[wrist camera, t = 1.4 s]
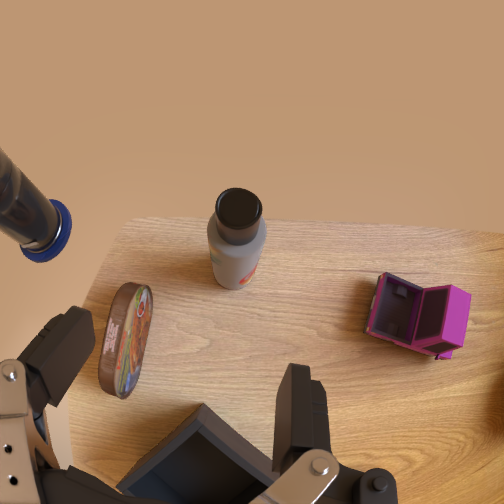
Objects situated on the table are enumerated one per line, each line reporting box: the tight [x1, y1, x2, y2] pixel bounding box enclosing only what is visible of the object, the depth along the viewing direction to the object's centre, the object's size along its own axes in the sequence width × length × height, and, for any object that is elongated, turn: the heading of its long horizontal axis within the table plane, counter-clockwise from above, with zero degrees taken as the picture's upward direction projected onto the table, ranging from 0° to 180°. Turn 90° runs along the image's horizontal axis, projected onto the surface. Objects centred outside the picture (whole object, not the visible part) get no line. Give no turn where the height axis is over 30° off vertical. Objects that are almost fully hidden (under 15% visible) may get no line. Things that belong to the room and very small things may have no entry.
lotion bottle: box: [207, 188, 267, 290], centre depth 34 cm, size 6×6×20 cm
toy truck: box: [363, 272, 471, 360], centre depth 38 cm, size 11×16×10 cm
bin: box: [116, 403, 280, 504], centre depth 29 cm, size 14×14×10 cm
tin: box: [98, 282, 153, 399], centre depth 35 cm, size 15×3×8 cm, turn 169°
